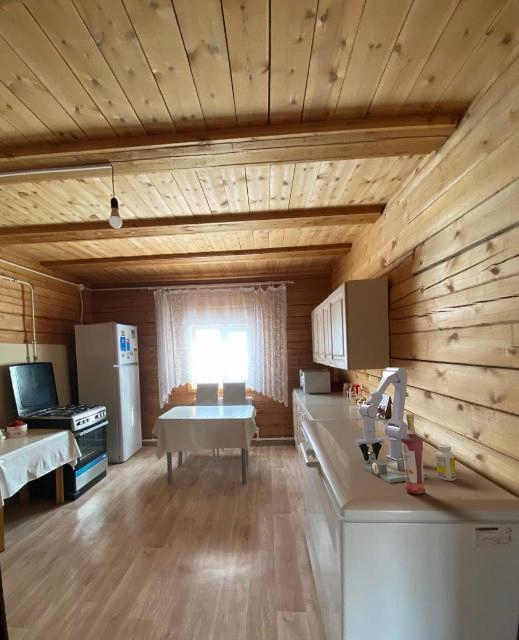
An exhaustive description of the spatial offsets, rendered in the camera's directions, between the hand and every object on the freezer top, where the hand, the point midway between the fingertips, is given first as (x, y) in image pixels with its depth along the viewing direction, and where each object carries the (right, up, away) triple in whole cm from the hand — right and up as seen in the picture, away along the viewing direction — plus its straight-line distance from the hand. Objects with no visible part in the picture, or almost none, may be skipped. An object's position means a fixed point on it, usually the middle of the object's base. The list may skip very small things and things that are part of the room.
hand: (371, 459), depth 157 cm
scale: (+6, 0, -13) cm, 14 cm away
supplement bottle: (+24, +1, -20) cm, 32 cm away
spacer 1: (0, -2, 0) cm, 2 cm away
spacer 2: (+8, +2, -16) cm, 18 cm away
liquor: (+5, +2, -34) cm, 34 cm away
